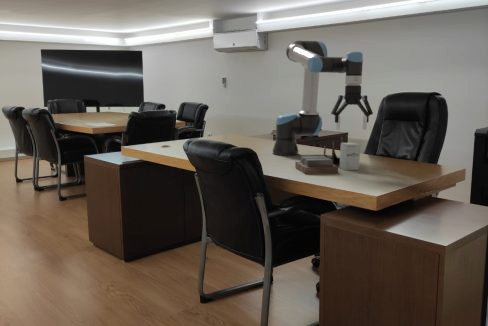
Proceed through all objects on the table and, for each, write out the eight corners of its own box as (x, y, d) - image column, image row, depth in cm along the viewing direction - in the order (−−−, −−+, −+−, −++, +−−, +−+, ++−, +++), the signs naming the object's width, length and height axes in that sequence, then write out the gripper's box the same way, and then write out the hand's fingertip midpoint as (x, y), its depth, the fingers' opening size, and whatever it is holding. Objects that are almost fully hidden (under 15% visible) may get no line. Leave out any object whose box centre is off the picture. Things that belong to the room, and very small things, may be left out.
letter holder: (341, 160, 260) (342, 134, 258) (343, 166, 241) (344, 139, 239) (323, 159, 262) (324, 134, 259) (323, 165, 242) (324, 138, 240)
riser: (295, 167, 235) (295, 155, 234) (326, 167, 237) (326, 155, 236) (304, 174, 219) (305, 161, 218) (337, 173, 222) (338, 160, 221)
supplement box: (345, 170, 230) (346, 144, 228) (339, 167, 237) (340, 142, 235) (359, 169, 231) (360, 144, 229) (353, 167, 239) (354, 142, 236)
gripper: (331, 84, 222) (329, 130, 225) (381, 85, 226) (378, 129, 229) (325, 84, 229) (324, 128, 232) (374, 85, 233) (372, 128, 237)
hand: (351, 129), depth 231 cm, fingers open, 13 cm apart
